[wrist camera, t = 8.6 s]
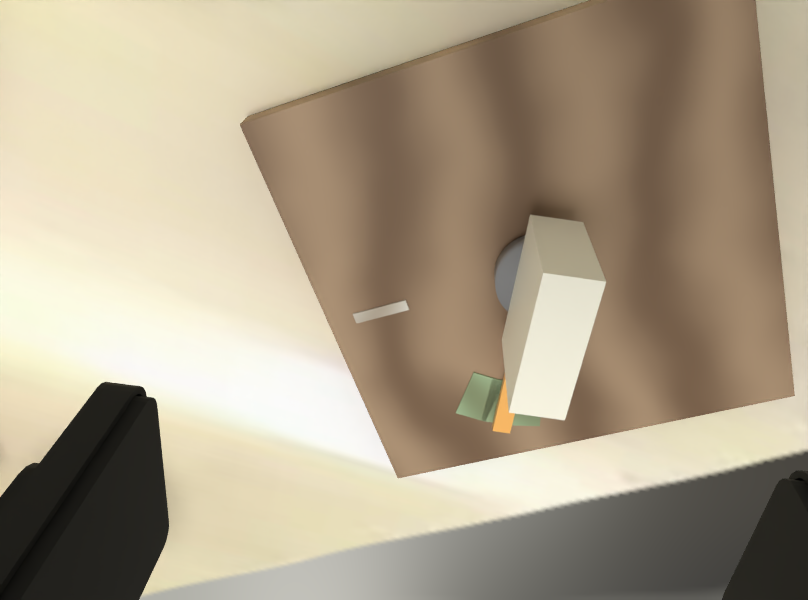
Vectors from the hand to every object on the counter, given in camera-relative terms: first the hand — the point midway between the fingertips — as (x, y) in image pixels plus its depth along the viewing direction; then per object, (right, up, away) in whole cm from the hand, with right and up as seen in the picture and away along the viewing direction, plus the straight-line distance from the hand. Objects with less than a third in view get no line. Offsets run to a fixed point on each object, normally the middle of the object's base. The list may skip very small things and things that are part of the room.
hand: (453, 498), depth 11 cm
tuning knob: (+6, +2, +27) cm, 27 cm away
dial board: (+6, +5, +27) cm, 28 cm away
